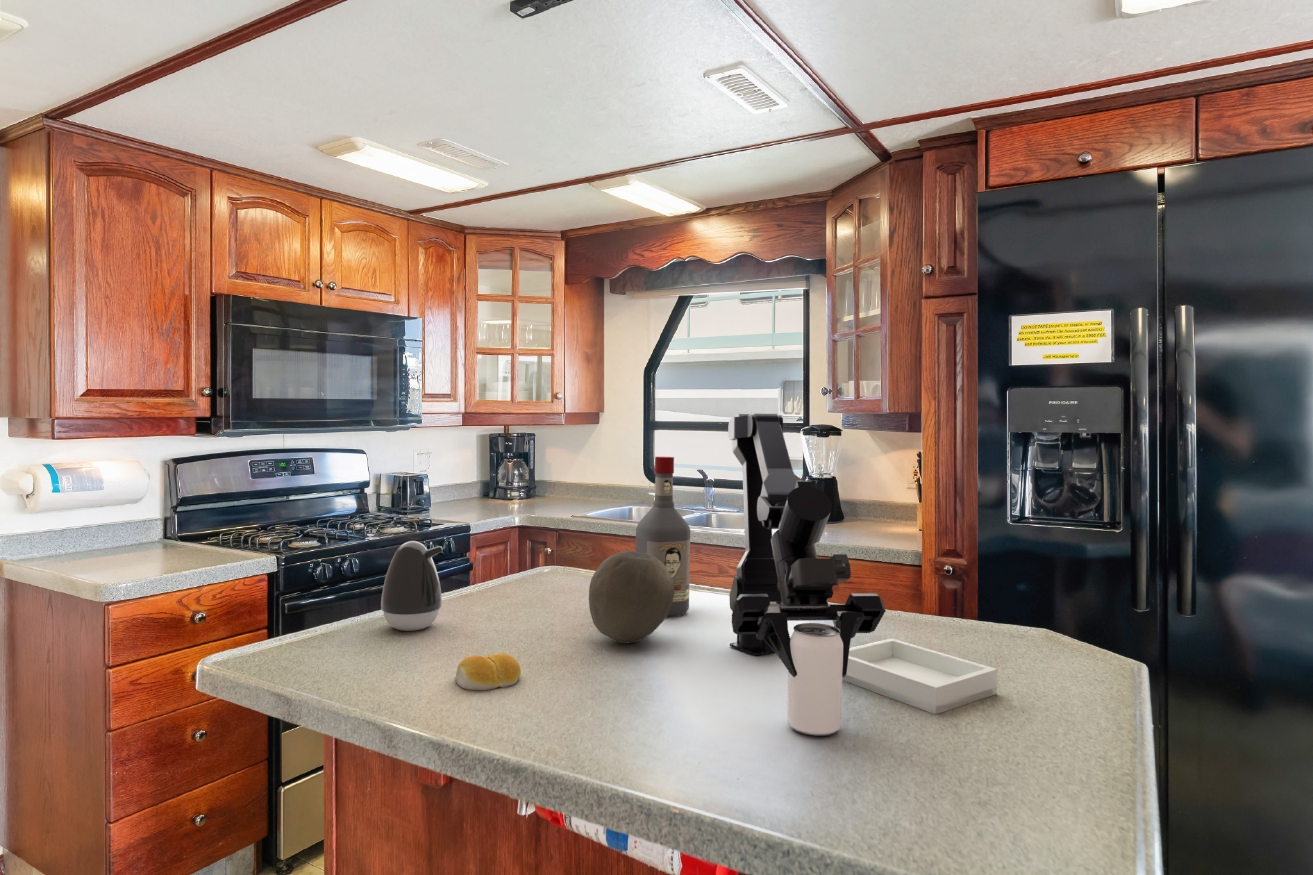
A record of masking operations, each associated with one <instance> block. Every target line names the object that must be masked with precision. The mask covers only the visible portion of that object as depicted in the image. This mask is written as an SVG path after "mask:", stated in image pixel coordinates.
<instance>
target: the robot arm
mask: <svg viewBox="0 0 1313 875" xmlns="http://www.w3.org/2000/svg"><path fill="white" fill-rule="evenodd" d="M727 428H728V429H727V430H728V431H727V432H728V433H727V434H728V439H729V440H730V441H731V446H732V449H731V450H732V453H733V455H734V456H735V458H736V460H737V461H738V462H739V463H740V465H741V467H742V468H741V469H742V470H741V471H742V488H743V489H742V491H743V493H742V494H743V520H744V547H745V552H744V554H743V556H742V557H741V559H740V561H739V563H738V564H737V565H736V571H735V572H736V573H735V574H736V576H733V577H734V578H733V580H732V585H731V588H730V591H729V592H730V593H729V609H730V610H731V611H732V613H731V625H732V633H734V634H735V635H736V641H732V642H730V643H729V647H732V648H734V649H736V650H738V651H742V652H745V653H748V654H750V655H751V656H752V655H753V656H760V655H764V654H765V655H766V654H769V653H775V654H776V656H778V658H779V659H780V661H781V662H782V664H783V665H784V667H785V668H786V670H787V671H788V673H790V674H791V675H792V676H793V677H795V676H796V675H797V671H796V669H795V666H794V663H793V660H792V656H791V650H790V638H791V636H790V633H789V625H788V621H789V622H791V621H792V622H793V621H795V622H797V621H800V622H801V621H832V623H833V626H834V627H836V628H838V629H839V630H840V637H841V639H842V642H843V673H842V677H845V676H846V673H847V665H848V657H849V648H851V640H852V639H853V638H854V637H855V636H856V634H871V633H873V632H875V631H876V629H877V627H878V625H879V624H880V622H881V620H882V619H883V616H884V615H885V613H886V607H885V603H884V600H883V598H882V597H881V596H880V595H879V594H877V593H876V592H875V593H849V595H848V598H847V599H846V602H845V604H841V603H840V604H830V603H829V602H828V599H832V598H833V595H834V589H833V587H837V586H838V585H839V583H841V582H843V583H845V582H847V581H848V580H850V579H851V576H852V570H851V563H850V560H849V557H848V555H847V554H846V553H845V554H844V553H842V554H841V553H839V554H836V553H834V554H833V555H832V556H830V557H829V558H828V557H824V558H821V557H818V554H817V550H816V545H815V544H817V543H819V542H820V541H821V539H822V536H823V533H824V531H825V528H826V525H827V523H828V520H829V518H830V515H831V512H832V509H833V503H832V500H831V499H830V498H829V496H828V495H827V494H826V493H825V492H823V491H822V490H820V489H818V488H816V487H814V486H813V483H812V480H803V479H802V478H801V477H799V476H798V475H796V474H795V472H794V469H793V465H792V463H791V459H790V455H789V450H788V447H787V444H786V440H785V435H784V417H783V416H782V415H781V414H778V413H776V412H753V413H752V412H737V413H736V414H735V416H734V417H732V418H730V419H729V422H728V427H727ZM773 530H776V531H775V532H774V533H773Z"/></svg>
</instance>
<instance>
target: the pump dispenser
mask: <svg viewBox="0 0 1313 875" xmlns="http://www.w3.org/2000/svg"><path fill="white" fill-rule="evenodd" d="M442 552H443V547H442V546H440V545H439V546H436V547H433V548H430V549H428V548H427V547H426V546H425V545H424V544H423V543H421V542H420V541H416V540H410V541H409V540H408V541H407V542H406V541H405V542H404V543H403V544H401V545H399V547H398V548H397V549H396V551H395V553H394V554H393V557H392V559H391V561H390V564H389V565H388V569H387V572H386V574H385V578H384V581H383V582H384V584H383V587H382V594H381V601H380V607H381V608H380V609H381V611H383V616H384V618H385V621H386V623H388V624H389V625H390V627H392V628H394V629H395V630H398V631H403V632H415V631H421V630H423V629H424V630H425V629H427V627H429V626H431V625H432V624H434V622H435V621H436V619H437V617H438V616H439V612H440V609H441V607H442V604H443V598H442V590H441V589H442V588H441V582H440V577H439V574H438V571H437V567H436V564H435V561H434V560H433V557H434V556H436V555H438V554H439V553H442Z"/></svg>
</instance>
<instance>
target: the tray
mask: <svg viewBox="0 0 1313 875" xmlns="http://www.w3.org/2000/svg"><path fill="white" fill-rule="evenodd" d="M842 682H845V683H849V684H852V685H854V686H857V687H860V688H863V689H865V690H868V691H871V692H873V693H876V694H878V695H881V696H885V697H887V698H889V699H893V700H894V701H898V702H900V703H904V704H905V705H908V706H911V707H914V708H917V709H920V710H922V711H926V712H928V713H930V714H933V715H937V714H940V713H944V712H947V711H949V710H953V709H955V708H958V707H962V706H965V705H967V704H970V703H974V702H977V701H980V700H984V699H986V698H988V697H989V698H990V697H992V696H994V695H997V691H998V690H997V689H998V685H997V684H998V668H994V667H992V666H988V665H986V664H981V663H979V662H974V661H971V660H967V659H964V658H961V657H957V656H954V655H950V654H946V653H943V652H940V651H936V650H933V649H929V648H926V647H923V646H919V645H915V644H912V643H909V642H906V641H903V640H899V639H896V638H887V639H882V640H878V641H874V642H870V643H865V644H861V645H857V646H852V647H850V648H849V657H848V665H847V673H846V676H845V677H842Z"/></svg>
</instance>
